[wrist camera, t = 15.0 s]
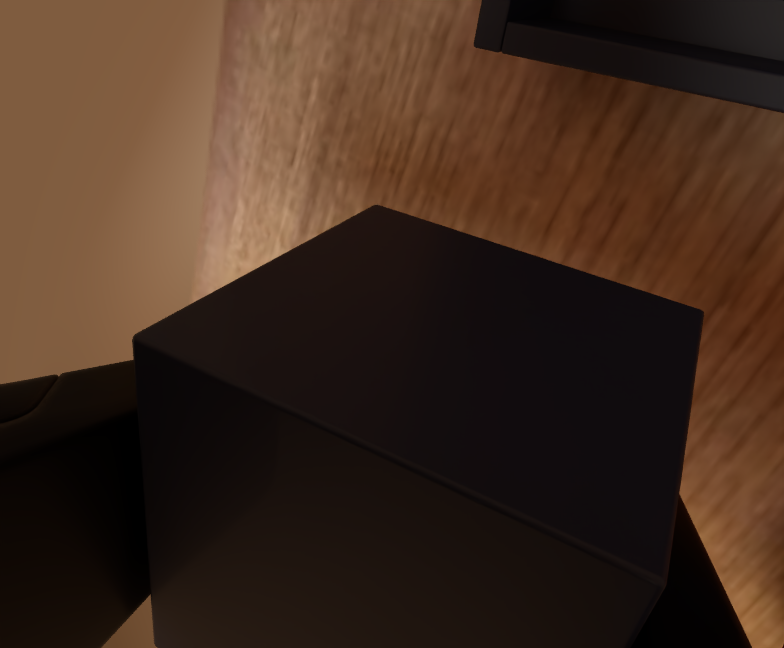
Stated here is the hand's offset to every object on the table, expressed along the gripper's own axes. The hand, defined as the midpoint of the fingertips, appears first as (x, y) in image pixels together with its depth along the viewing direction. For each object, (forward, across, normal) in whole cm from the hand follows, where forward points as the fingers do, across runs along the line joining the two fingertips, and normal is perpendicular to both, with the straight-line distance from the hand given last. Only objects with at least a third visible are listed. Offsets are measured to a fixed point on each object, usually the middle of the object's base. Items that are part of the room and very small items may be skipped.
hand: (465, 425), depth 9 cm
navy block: (+1, 0, 0) cm, 1 cm away
